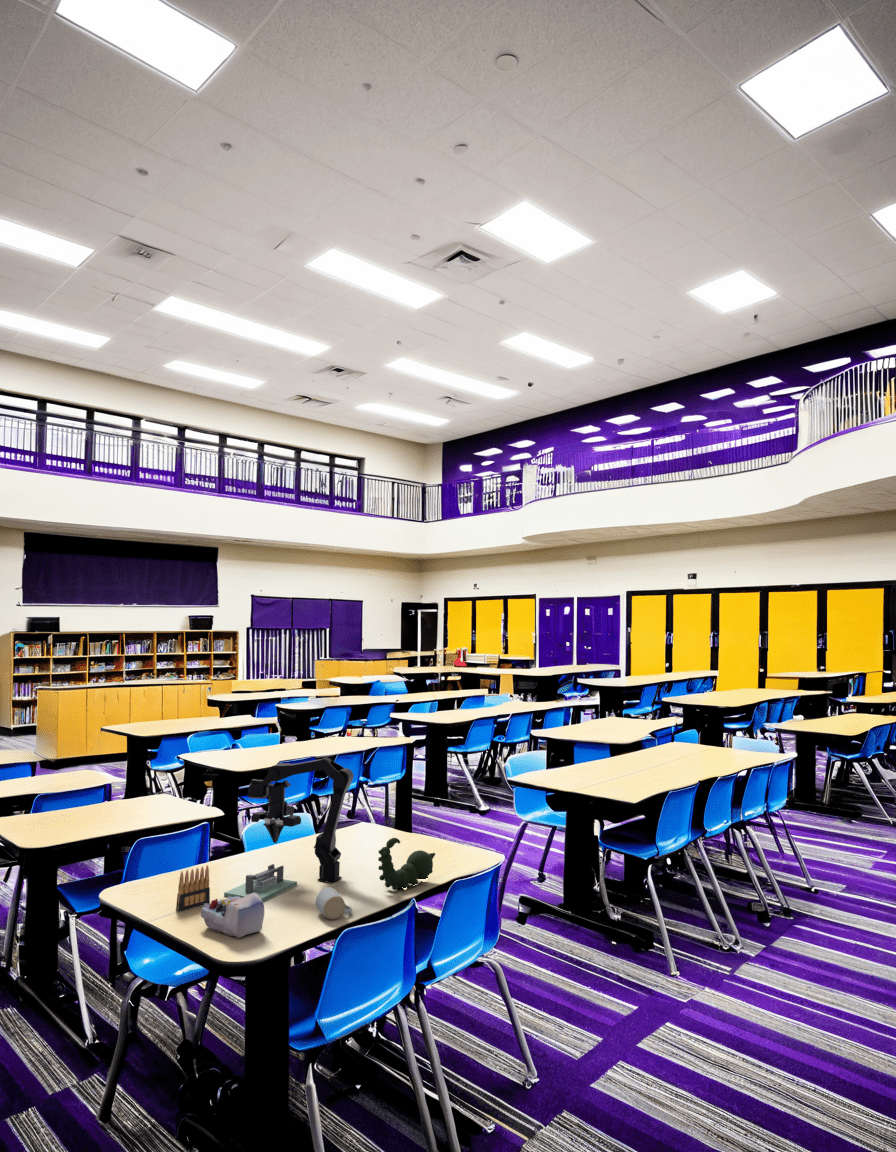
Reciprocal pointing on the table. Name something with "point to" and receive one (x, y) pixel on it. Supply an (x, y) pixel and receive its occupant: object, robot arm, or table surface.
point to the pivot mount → (279, 872)
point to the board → (265, 894)
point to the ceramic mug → (331, 904)
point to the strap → (265, 873)
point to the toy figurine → (404, 867)
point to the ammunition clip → (193, 890)
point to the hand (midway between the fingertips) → (275, 842)
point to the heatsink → (264, 883)
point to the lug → (249, 883)
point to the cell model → (235, 915)
